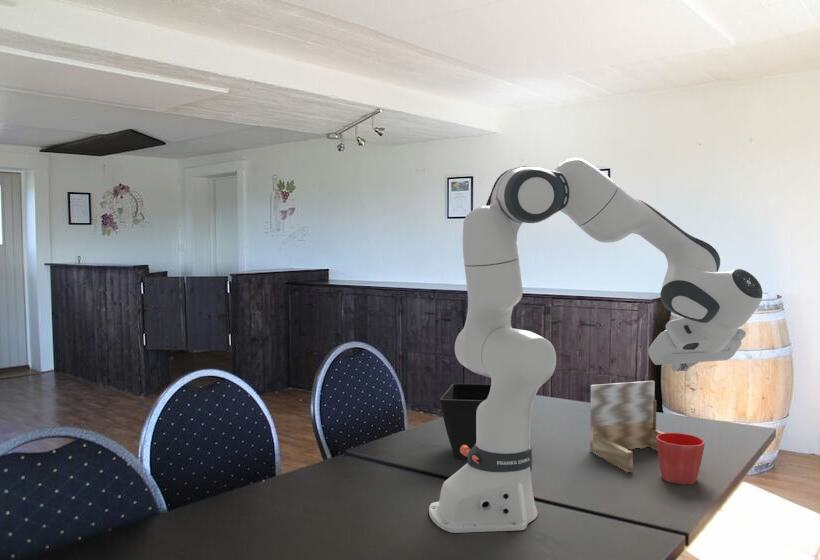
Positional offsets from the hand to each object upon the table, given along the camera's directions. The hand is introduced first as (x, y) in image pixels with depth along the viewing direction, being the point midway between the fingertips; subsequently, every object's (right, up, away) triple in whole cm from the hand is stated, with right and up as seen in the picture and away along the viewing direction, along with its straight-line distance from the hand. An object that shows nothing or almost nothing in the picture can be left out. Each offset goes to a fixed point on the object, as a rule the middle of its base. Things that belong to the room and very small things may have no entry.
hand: (678, 368), depth 156 cm
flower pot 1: (-42, -26, +27) cm, 56 cm away
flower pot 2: (+3, -27, +7) cm, 28 cm away
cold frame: (-1, -26, +21) cm, 34 cm away
